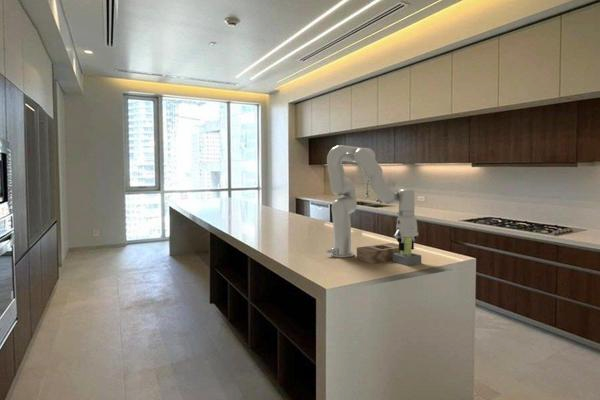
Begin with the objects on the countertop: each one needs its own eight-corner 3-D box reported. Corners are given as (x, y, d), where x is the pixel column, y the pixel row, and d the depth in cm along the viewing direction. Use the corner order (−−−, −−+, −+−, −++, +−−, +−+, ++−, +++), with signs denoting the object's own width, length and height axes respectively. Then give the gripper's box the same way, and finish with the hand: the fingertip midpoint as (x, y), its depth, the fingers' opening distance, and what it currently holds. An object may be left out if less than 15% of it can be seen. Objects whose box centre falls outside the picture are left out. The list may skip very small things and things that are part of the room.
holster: (406, 265, 182) (406, 257, 182) (392, 261, 191) (392, 253, 191) (421, 263, 186) (421, 255, 186) (406, 259, 195) (406, 251, 195)
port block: (370, 263, 188) (370, 251, 187) (356, 258, 198) (356, 247, 198) (407, 257, 198) (407, 246, 197) (392, 253, 209) (392, 242, 208)
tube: (404, 260, 193) (404, 222, 191) (413, 261, 189) (413, 223, 188) (398, 262, 189) (399, 223, 187) (408, 263, 185) (408, 224, 184)
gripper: (397, 215, 180) (397, 253, 181) (425, 213, 187) (424, 249, 189) (387, 214, 186) (387, 250, 188) (414, 211, 194) (414, 246, 195)
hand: (406, 249), depth 188 cm, fingers closed on tube, 5 cm apart
